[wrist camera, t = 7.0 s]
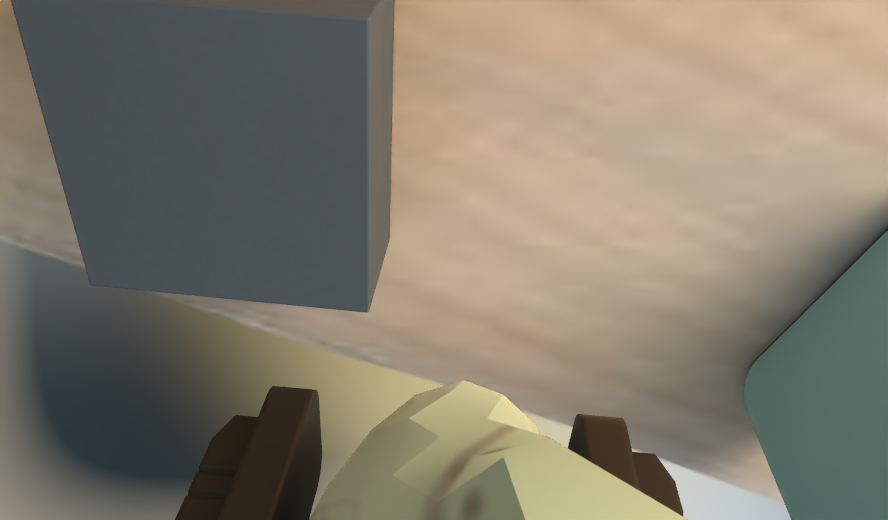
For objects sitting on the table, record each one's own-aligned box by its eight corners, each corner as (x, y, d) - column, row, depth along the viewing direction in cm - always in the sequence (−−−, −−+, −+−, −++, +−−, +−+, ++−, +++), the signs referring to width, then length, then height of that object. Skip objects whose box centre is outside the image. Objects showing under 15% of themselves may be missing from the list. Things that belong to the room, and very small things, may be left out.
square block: (152, 216, 28) (89, 285, 24) (99, -42, 22) (6, -12, 18) (389, 239, 28) (368, 313, 23) (395, -18, 22) (368, 19, 18)
